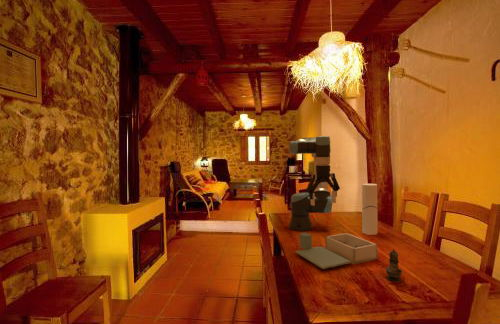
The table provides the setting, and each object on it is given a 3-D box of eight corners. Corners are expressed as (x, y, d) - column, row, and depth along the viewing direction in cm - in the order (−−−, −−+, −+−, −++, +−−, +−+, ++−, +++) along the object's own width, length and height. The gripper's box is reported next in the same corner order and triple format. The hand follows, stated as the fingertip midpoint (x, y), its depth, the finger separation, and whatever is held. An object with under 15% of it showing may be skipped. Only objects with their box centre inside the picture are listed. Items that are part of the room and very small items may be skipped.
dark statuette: (382, 276, 109) (382, 246, 109) (396, 275, 110) (396, 246, 109) (391, 283, 103) (391, 252, 103) (405, 282, 104) (405, 251, 103)
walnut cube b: (355, 252, 131) (355, 244, 131) (363, 252, 131) (363, 244, 131) (358, 256, 127) (358, 247, 127) (367, 255, 127) (367, 247, 127)
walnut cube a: (333, 249, 136) (333, 241, 136) (337, 247, 139) (337, 239, 139) (340, 251, 133) (340, 243, 133) (344, 249, 136) (344, 241, 136)
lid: (290, 251, 137) (290, 235, 137) (314, 247, 143) (314, 231, 143) (322, 272, 113) (322, 251, 113) (350, 266, 119) (350, 246, 119)
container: (379, 235, 161) (378, 185, 160) (363, 234, 163) (363, 185, 162) (375, 231, 170) (375, 183, 169) (361, 230, 172) (360, 183, 170)
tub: (325, 250, 139) (325, 236, 139) (346, 245, 144) (346, 233, 144) (354, 264, 120) (353, 249, 120) (377, 259, 126) (377, 244, 126)
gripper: (306, 166, 137) (307, 207, 138) (346, 164, 146) (346, 202, 147) (299, 165, 144) (299, 204, 145) (337, 163, 153) (337, 200, 154)
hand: (323, 204), depth 146 cm, fingers open, 13 cm apart
